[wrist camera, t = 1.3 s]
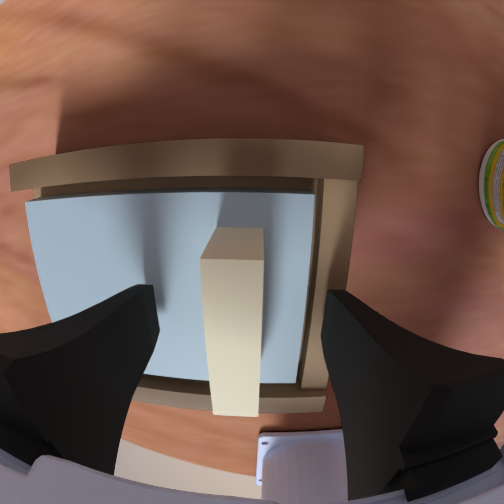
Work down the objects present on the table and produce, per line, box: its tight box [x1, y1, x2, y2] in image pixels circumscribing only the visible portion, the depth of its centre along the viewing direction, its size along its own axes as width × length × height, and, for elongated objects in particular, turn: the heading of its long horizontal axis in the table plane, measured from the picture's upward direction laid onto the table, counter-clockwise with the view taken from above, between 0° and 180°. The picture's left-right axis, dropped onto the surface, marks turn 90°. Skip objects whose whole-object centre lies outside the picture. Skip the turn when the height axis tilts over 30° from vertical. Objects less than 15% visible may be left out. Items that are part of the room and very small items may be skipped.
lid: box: [25, 187, 315, 417], centre depth 10 cm, size 8×12×4 cm
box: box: [9, 138, 364, 413], centre depth 13 cm, size 12×14×4 cm
